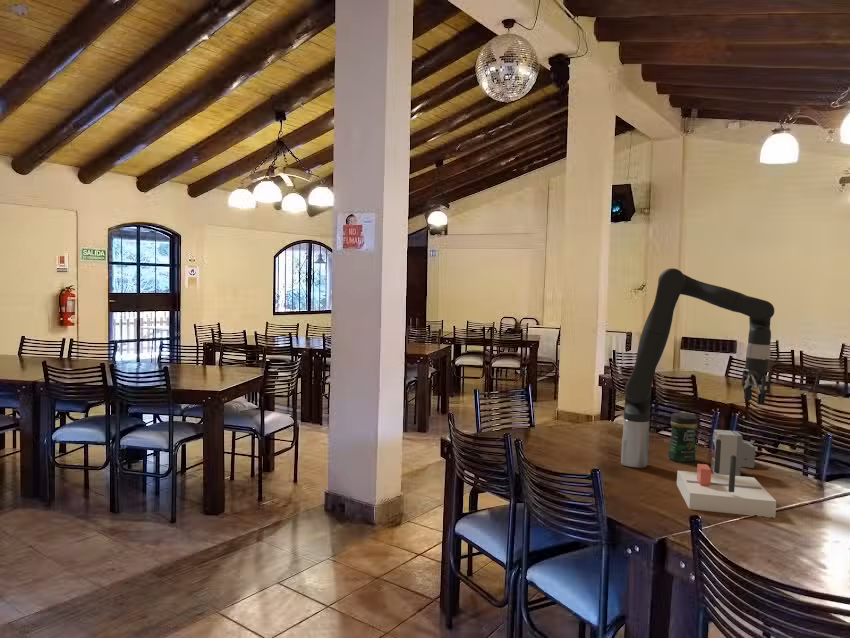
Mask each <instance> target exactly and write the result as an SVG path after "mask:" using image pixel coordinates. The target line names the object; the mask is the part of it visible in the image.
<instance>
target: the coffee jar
mask: <svg viewBox="0 0 850 638" xmlns="http://www.w3.org/2000/svg"><path fill="white" fill-rule="evenodd" d="M670 426H671V432H670V433H671V434H670V440H669V441H670V442H669V447H668V452H667V453H668V454H667V457H668V458H669V459H670V460H671V461H675V462H678V463H691V462H695V460H696V437H695V436H696V430H697V428H698V416H697V415H696V414H694V413H690V412H677V413H676V412H672V414H671V418H670Z"/></svg>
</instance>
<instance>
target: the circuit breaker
mask: <svg viewBox="0 0 850 638" xmlns="http://www.w3.org/2000/svg"><path fill="white" fill-rule="evenodd" d="M743 438H744V437H743V435H742V434H741V433H739V432H738V431H737V430H724V429H714V430H713V433H712V441H713V445H714V450H715V449H716V440H718V439H719V440H721V454H720V471H719V473H715V472H714V466H715V453H714V455H713V456H711V460H710V461H711V463H710V469H711V472H712V473H713V474H721V475H729V473H730V457H731V456H732V455H735V456H736V471H735V476H741V470H742V468H750V469H752V468H753V469H754V468H755V460H756V459H755V458H759V454H758V453H757V452H756V447H755V446H754V445H753V444H752V443H751V442H749V441H743V440H744V439H743Z"/></svg>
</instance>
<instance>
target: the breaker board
mask: <svg viewBox="0 0 850 638" xmlns="http://www.w3.org/2000/svg"><path fill="white" fill-rule="evenodd" d="M676 471H677V476H676V487H677V488H678V491H679V492H680V494H681V496H682V498H683V500H684V501H685V504H686V506H687V508H688V509H689V510H697V511H703V512H715V513H724V514H732V515H733V514H734V515H743V516H744V515H745V516H752V515H757V516H756V517H761V516H765V517H764V518H771V517H773V519H775V518H776V515H777V514H776V513H777V500H776V499H775V498H774V497H773V496H772V494H770V493H769V492H768V491H767V490H766V489H765V487H764V486H763V485H761V483H760V482H759V481H758V480H757V479H756V478H755V476H753V477H751V476H741V475H740V476H735V487H734V492H729V491H728V489H729V475H721V474H715V473H711V483H710V485H700V483H699V482H698V480H697V471H687V470H676Z"/></svg>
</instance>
